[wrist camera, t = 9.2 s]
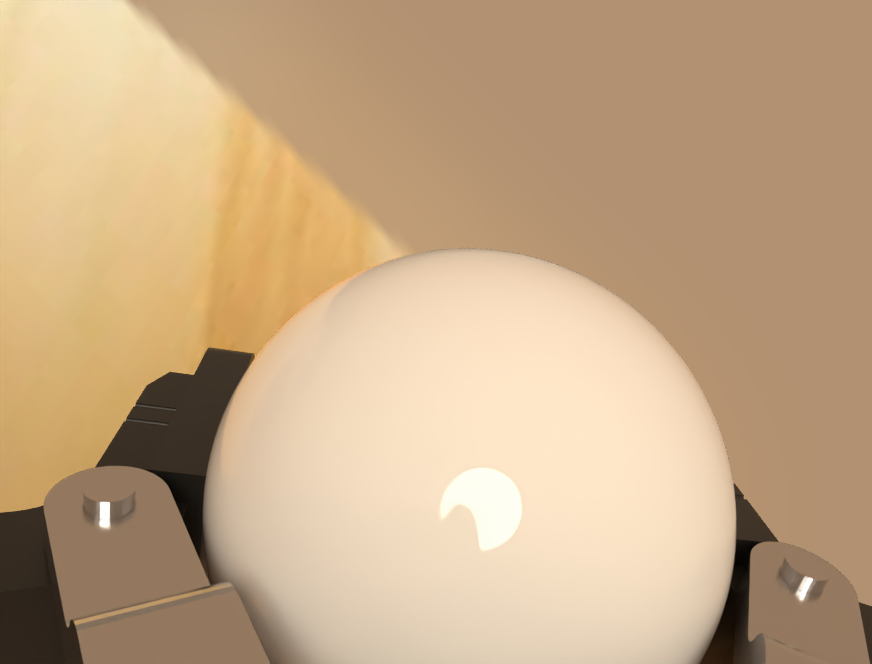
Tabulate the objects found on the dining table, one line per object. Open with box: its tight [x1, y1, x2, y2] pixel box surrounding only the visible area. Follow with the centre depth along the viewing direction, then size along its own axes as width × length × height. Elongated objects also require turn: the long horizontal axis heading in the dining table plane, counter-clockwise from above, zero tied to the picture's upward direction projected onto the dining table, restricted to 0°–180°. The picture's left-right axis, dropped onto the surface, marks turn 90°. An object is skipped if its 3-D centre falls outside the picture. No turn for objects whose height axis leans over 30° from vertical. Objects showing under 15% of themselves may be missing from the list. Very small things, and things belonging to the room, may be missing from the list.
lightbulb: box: [202, 248, 737, 664], centre depth 11 cm, size 6×6×11 cm
